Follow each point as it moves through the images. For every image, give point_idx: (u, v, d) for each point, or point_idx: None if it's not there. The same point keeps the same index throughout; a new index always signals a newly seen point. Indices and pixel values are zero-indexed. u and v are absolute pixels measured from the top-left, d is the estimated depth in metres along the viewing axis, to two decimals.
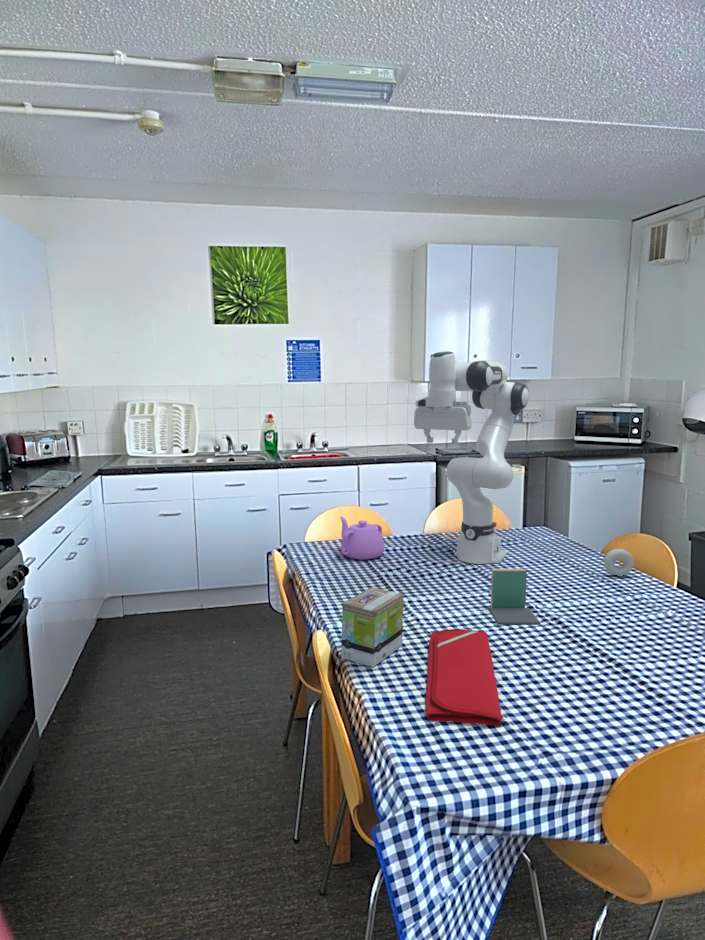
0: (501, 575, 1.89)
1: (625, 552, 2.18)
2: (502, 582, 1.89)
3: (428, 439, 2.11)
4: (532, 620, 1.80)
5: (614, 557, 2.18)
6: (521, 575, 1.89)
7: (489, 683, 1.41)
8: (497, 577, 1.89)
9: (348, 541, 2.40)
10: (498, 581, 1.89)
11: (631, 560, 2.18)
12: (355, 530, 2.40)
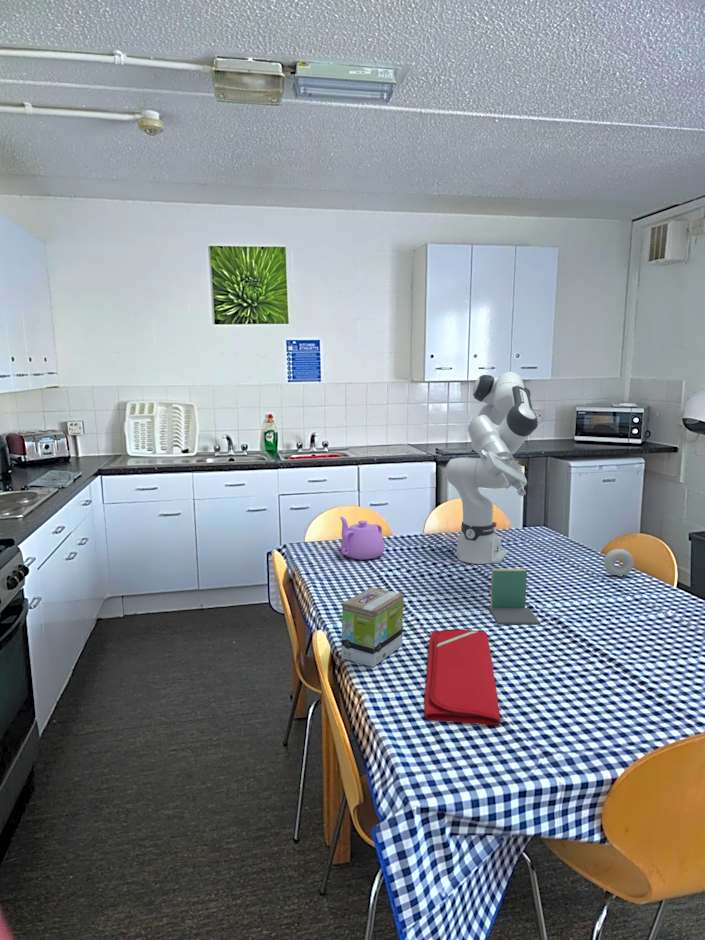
0: (501, 575, 1.89)
1: (625, 552, 2.18)
2: (502, 582, 1.89)
3: None
4: (532, 620, 1.80)
5: (614, 557, 2.18)
6: (521, 575, 1.89)
7: (488, 683, 1.41)
8: (497, 577, 1.89)
9: (348, 541, 2.40)
10: (498, 581, 1.89)
11: (631, 560, 2.18)
12: (355, 530, 2.40)
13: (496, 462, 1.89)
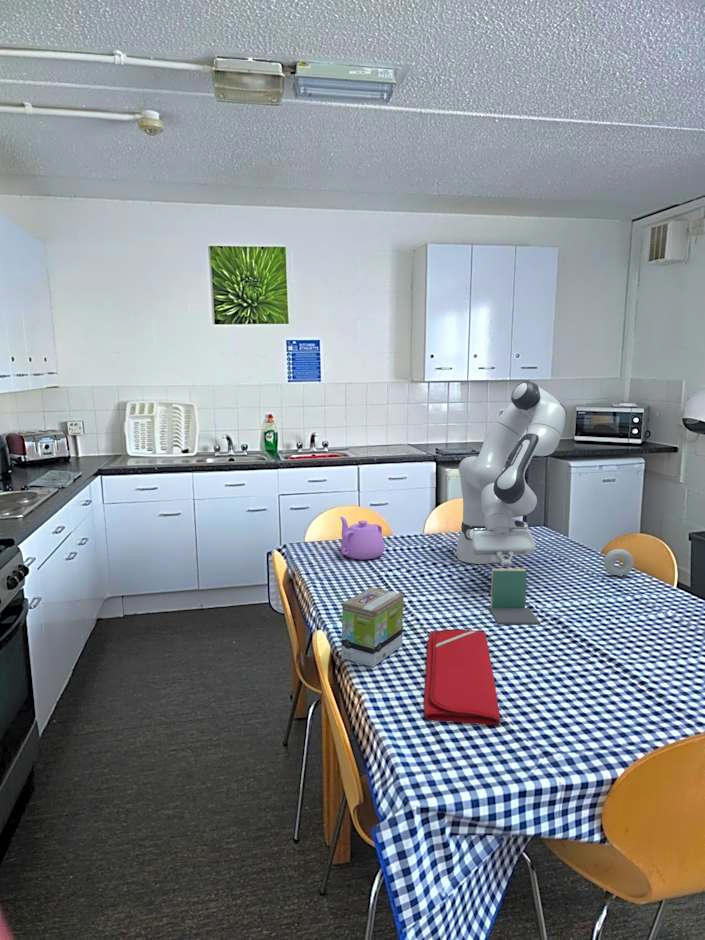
0: (501, 575, 1.89)
1: (625, 552, 2.18)
2: (502, 582, 1.89)
3: None
4: (532, 620, 1.80)
5: (614, 557, 2.18)
6: (521, 575, 1.89)
7: (487, 682, 1.41)
8: (497, 577, 1.89)
9: (348, 541, 2.40)
10: (498, 581, 1.89)
11: (631, 560, 2.18)
12: (355, 530, 2.40)
13: (478, 544, 2.02)
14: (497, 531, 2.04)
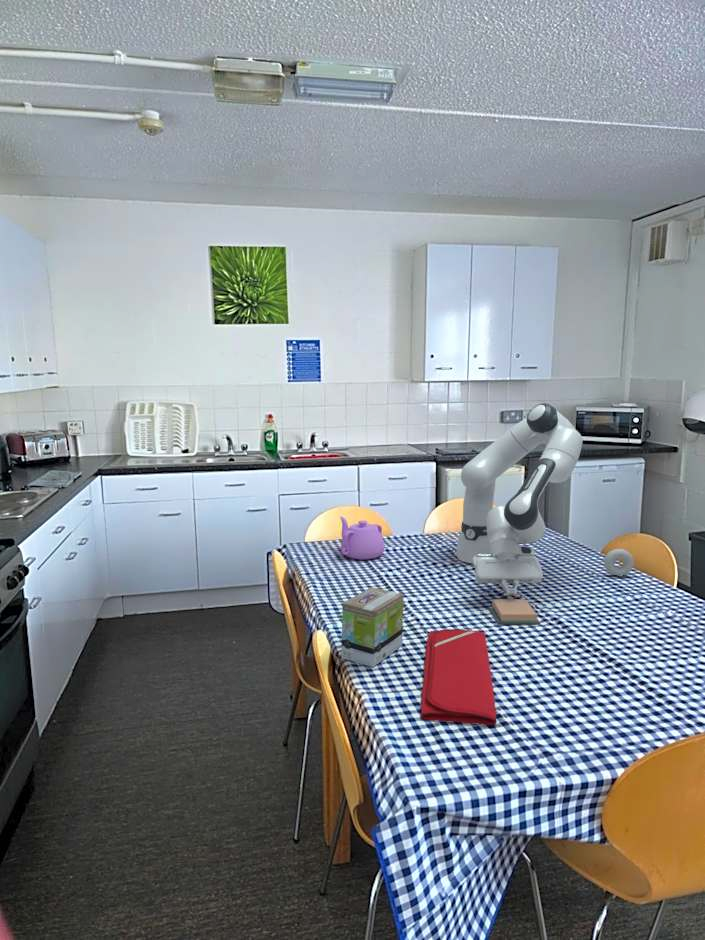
0: None
1: (625, 552, 2.18)
2: None
3: None
4: None
5: (614, 557, 2.18)
6: None
7: (485, 682, 1.41)
8: None
9: (348, 541, 2.40)
10: None
11: (631, 560, 2.18)
12: (355, 530, 2.40)
13: (481, 571, 1.91)
14: (502, 558, 1.93)
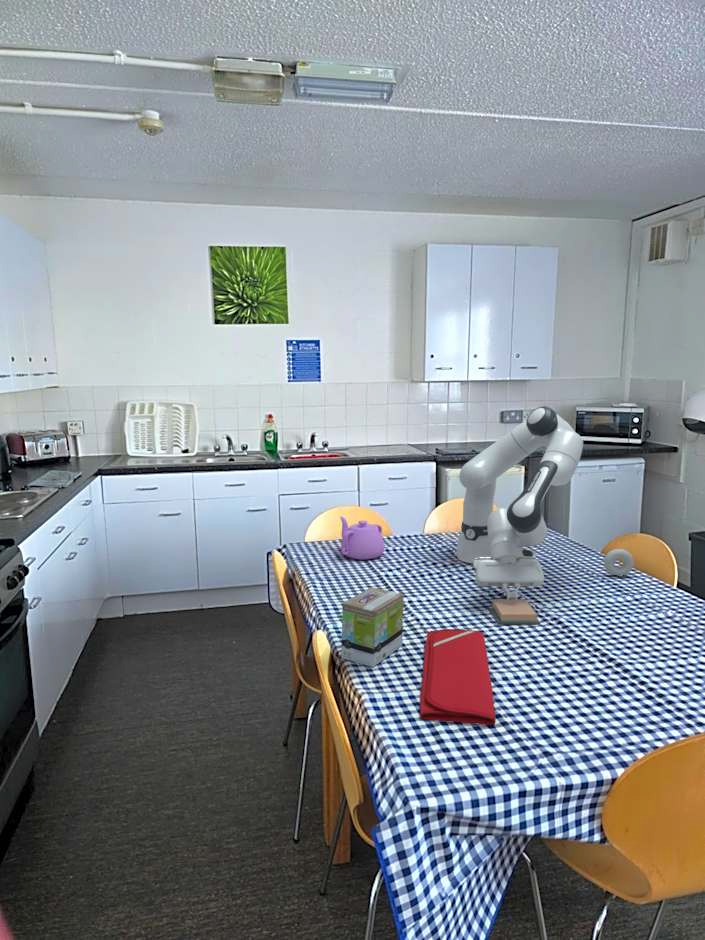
0: None
1: (625, 552, 2.18)
2: None
3: None
4: None
5: (614, 557, 2.18)
6: None
7: (483, 682, 1.41)
8: None
9: (348, 541, 2.40)
10: None
11: (631, 560, 2.18)
12: (355, 530, 2.40)
13: (482, 574, 1.88)
14: (503, 561, 1.90)
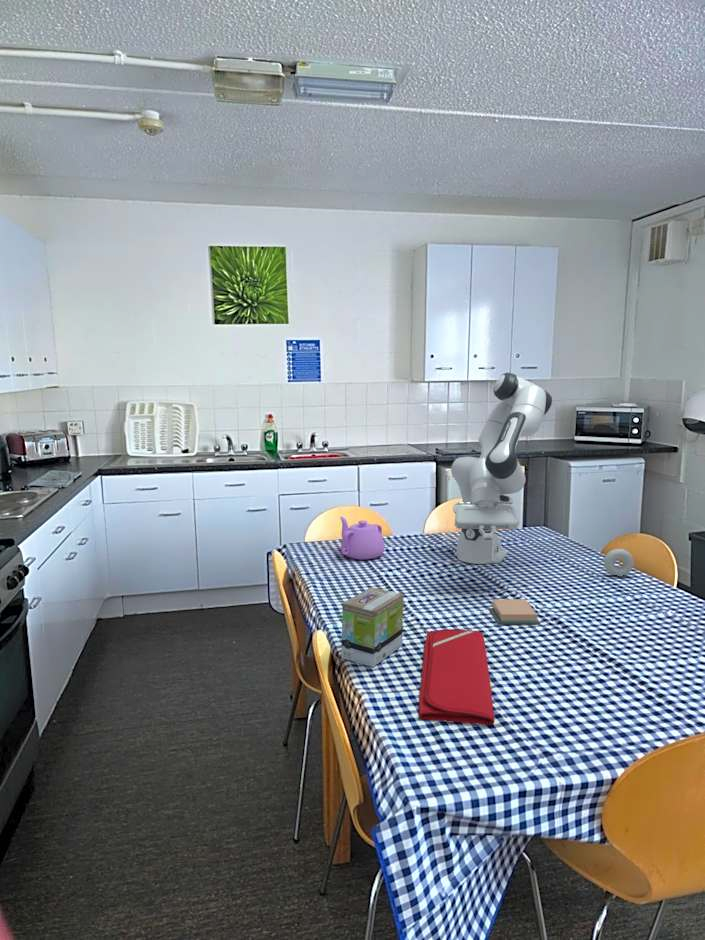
0: None
1: (625, 552, 2.18)
2: None
3: None
4: None
5: (614, 557, 2.18)
6: None
7: (483, 682, 1.41)
8: None
9: (348, 541, 2.40)
10: None
11: (631, 560, 2.18)
12: (355, 530, 2.40)
13: (460, 517, 2.02)
14: (481, 505, 2.03)
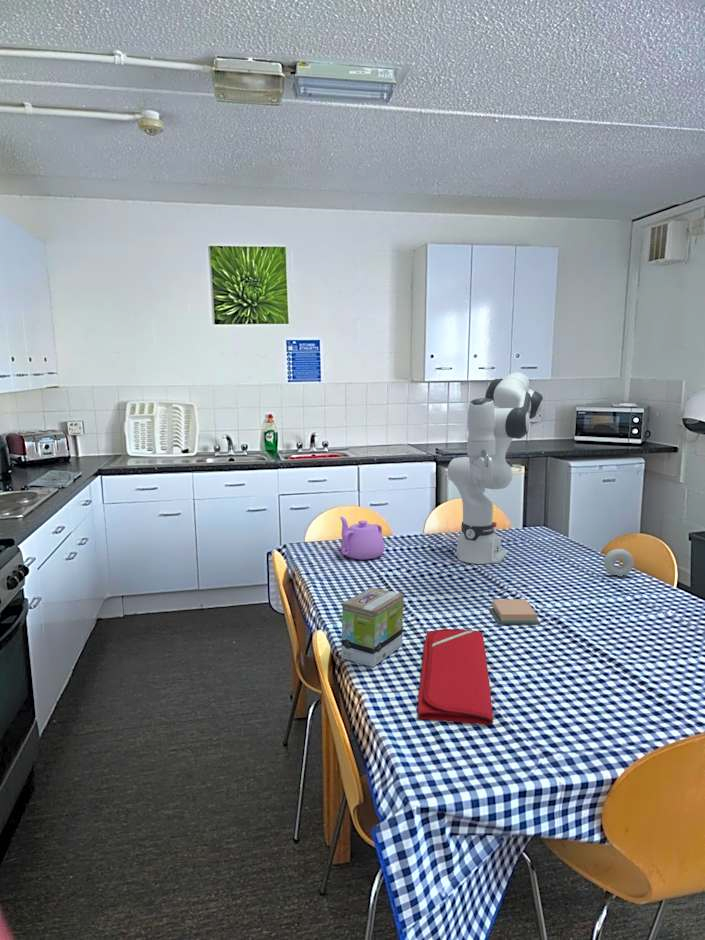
0: None
1: (625, 552, 2.18)
2: None
3: (478, 488, 2.04)
4: None
5: (614, 557, 2.18)
6: None
7: (482, 682, 1.41)
8: None
9: (348, 541, 2.40)
10: None
11: (631, 560, 2.18)
12: (355, 530, 2.40)
13: None
14: None
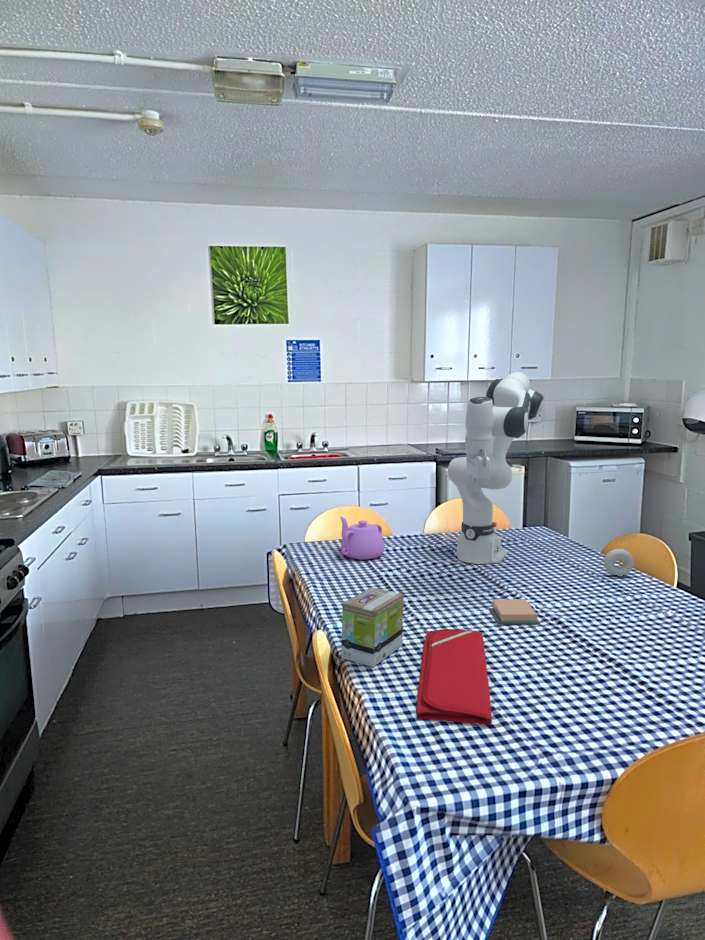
0: None
1: (625, 552, 2.18)
2: None
3: (474, 486, 2.05)
4: None
5: (614, 557, 2.18)
6: None
7: (481, 682, 1.41)
8: None
9: (348, 541, 2.40)
10: None
11: (631, 560, 2.18)
12: (355, 530, 2.40)
13: None
14: (487, 457, 2.01)
